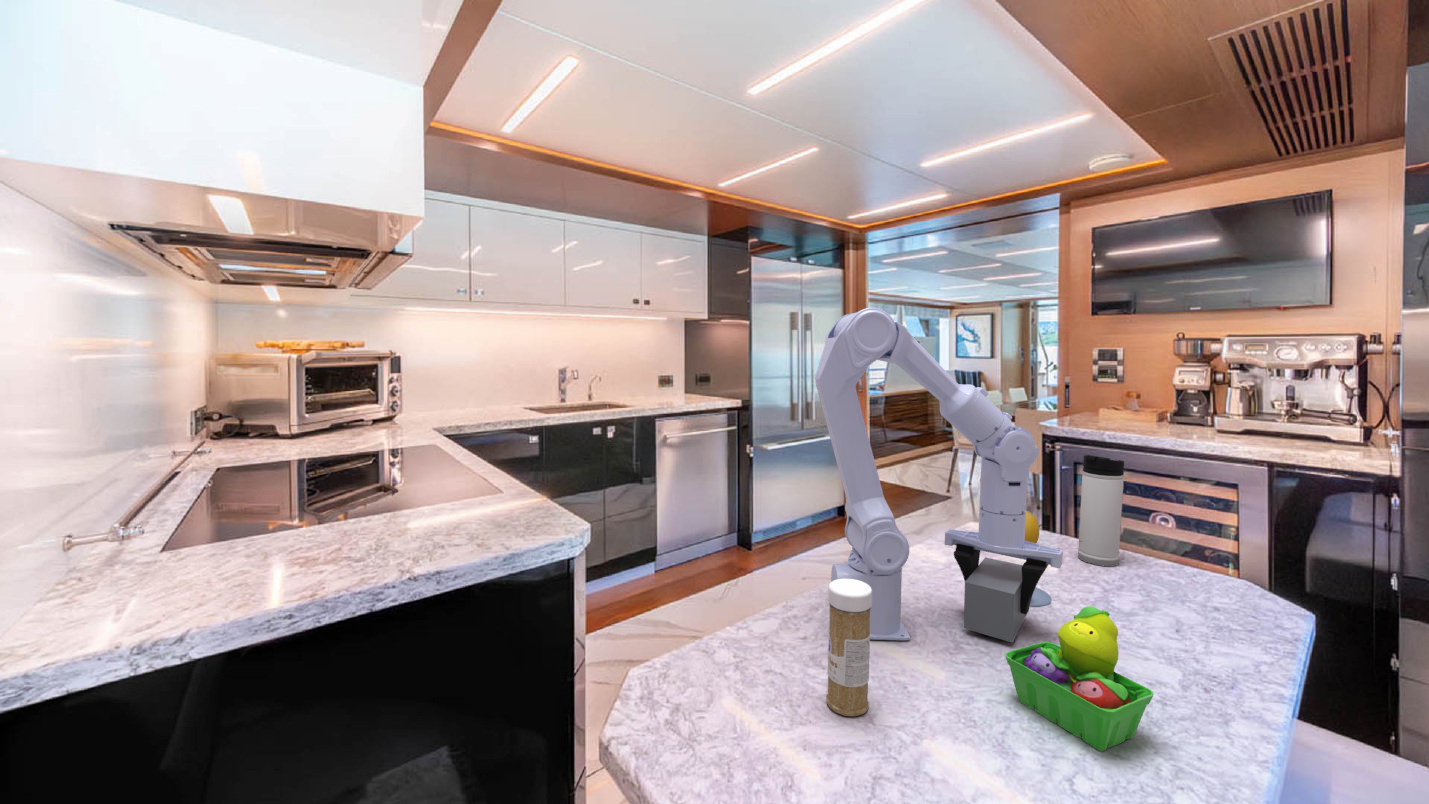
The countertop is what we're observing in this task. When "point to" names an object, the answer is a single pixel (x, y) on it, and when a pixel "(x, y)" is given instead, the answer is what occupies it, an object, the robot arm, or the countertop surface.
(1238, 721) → the countertop surface
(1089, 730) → the fruit basket
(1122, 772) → the countertop surface
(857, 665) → the spice jar
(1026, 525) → the fruit
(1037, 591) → the disc
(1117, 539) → the travel mug
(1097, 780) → the countertop surface
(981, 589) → the grey rectangular block
